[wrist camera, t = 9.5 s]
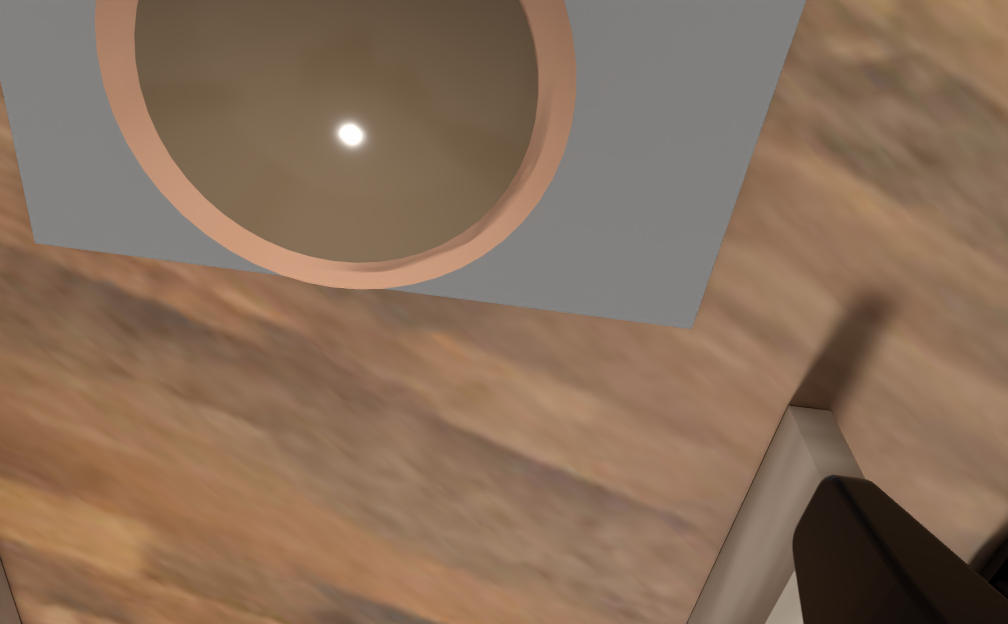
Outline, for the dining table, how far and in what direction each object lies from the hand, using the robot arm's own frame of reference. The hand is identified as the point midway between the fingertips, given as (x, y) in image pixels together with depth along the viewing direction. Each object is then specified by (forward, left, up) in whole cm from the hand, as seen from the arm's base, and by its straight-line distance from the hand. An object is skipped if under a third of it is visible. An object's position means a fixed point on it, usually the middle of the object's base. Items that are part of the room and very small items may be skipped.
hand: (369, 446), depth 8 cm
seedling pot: (+1, -2, -11) cm, 11 cm away
